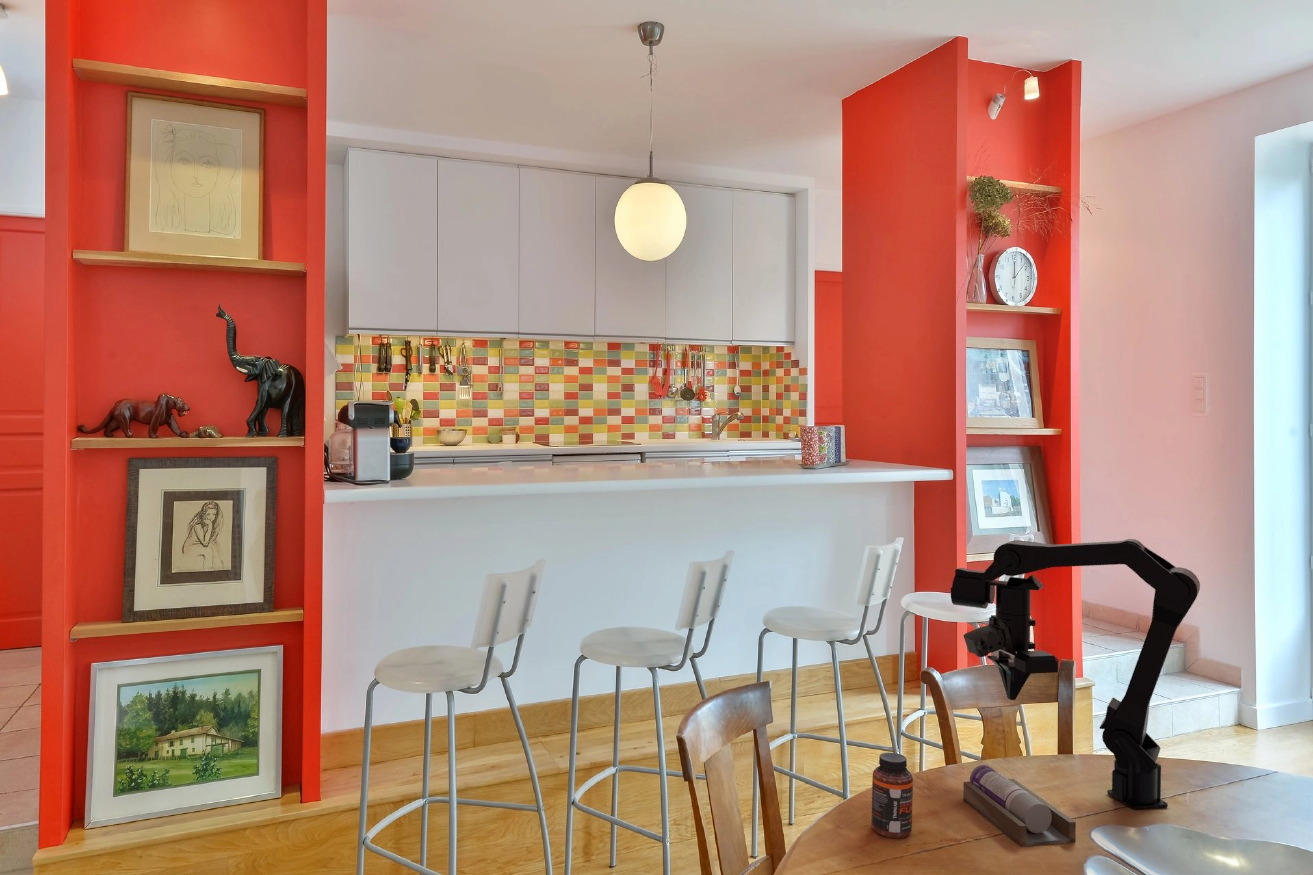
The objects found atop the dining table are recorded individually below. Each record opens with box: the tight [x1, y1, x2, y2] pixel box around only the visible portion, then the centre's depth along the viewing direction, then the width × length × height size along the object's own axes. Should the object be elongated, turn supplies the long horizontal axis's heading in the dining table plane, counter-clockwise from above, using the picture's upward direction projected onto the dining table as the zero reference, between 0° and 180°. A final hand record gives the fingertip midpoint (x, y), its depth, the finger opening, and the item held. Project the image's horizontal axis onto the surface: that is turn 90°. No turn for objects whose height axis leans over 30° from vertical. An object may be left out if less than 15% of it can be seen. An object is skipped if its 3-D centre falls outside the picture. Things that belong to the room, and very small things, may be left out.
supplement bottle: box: [871, 752, 914, 839], centre depth 131 cm, size 6×6×11 cm
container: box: [969, 764, 1052, 833], centre depth 137 cm, size 5×5×15 cm
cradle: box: [962, 778, 1077, 847], centre depth 136 cm, size 9×16×3 cm, turn 10°
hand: (1011, 699), depth 154 cm, fingers closed
